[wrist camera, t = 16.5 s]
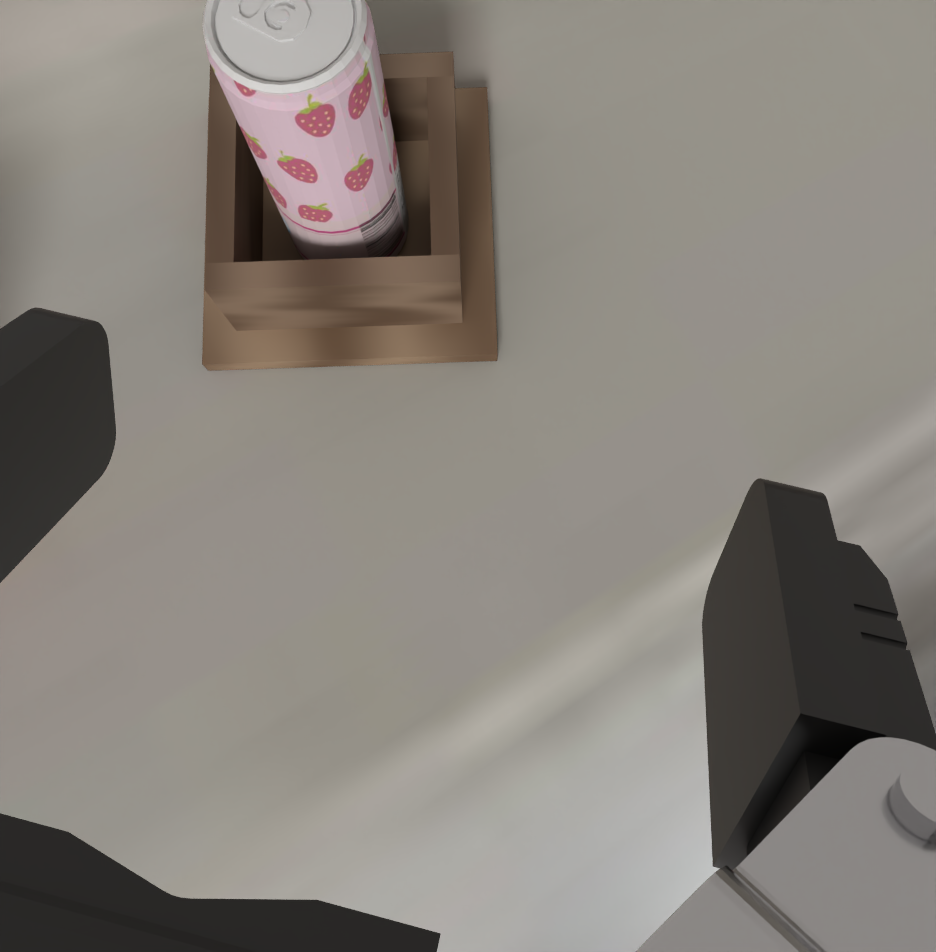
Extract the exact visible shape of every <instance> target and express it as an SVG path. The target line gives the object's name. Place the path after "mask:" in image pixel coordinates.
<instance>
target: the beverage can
mask: <svg viewBox="0 0 936 952" xmlns="http://www.w3.org/2000/svg"><path fill="white" fill-rule="evenodd" d="M203 33H204V38H205V43H206V48H207V54H208V59H209V61H210V64H211V66H212V68H213V70H214V73H215V75H216V77H217V79H218V81H219V83H220V85H221V88H222V90H223V92H224V94H225V96H226V98H227V100H228V103H229V105H230V107H231V109H232V111H233V113H234V115H235V118H236V120H237V122H238V124H239V126H240V128H241V131H242V133H243V135H244V137H245V139H246V141H247V143H248V146H249V148H250V150H251V152H252V154H253V156H254V158H255V161H256V163H257V165H258V167H259V169H260V171H261V173H262V176H263V178H264V180H265V182H266V184H267V186H268V188H269V191H270V193H271V195H272V197H273V199H274V201H275V203H276V206H277V208H278V210H279V212H280V214H281V216H282V218H283V221H284V223H285V225H286V227H287V229H288V231H289V233H290V236H291V238H292V240H293V242H294V244H295V246H296V248H297V251H298V252H299V254H300V255H301V256H302V258H303V259H304V260H314V259H343V258H371V257H396V256H397V254H398V253H399V252H400V251H401V249H402V246H403V244H404V242H405V240H406V237H407V232H408V211H407V206H406V200H405V195H404V189H403V184H402V178H401V173H400V167H399V162H398V156H397V151H396V145H395V140H394V134H393V129H392V123H391V117H390V112H389V106H388V101H387V95H386V90H385V84H384V79H383V73H382V68H381V62H380V57H379V51H378V46H377V40H376V35H375V29H374V24H373V20H372V15H371V11H370V8H369V6H368V4H367V2H366V0H207V2H206V5H205V9H204V12H203Z"/></svg>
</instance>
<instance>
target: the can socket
mask: <svg viewBox="0 0 936 952" xmlns="http://www.w3.org/2000/svg"><path fill="white" fill-rule="evenodd" d="M379 57H380V62H381V68H382V73H383V79H384V84H385V90H386V95H387V101H388V106H389V112H390V117H391V123H392V129H393V134H394V140H395V145H396V151H397V156H398V162H399V167H400V173H401V178H402V184H403V189H404V195H405V200H406V206H407V211H408V232H407V237H406V240H405V242H404V244H403V246H402V249H401V251H400V252H399V253H398V254H397V256H396V257H371V258H343V259H314V260H304V259H303V258H302V256H301V255H300V254H299V252H298V251H297V248H296V246H295V244H294V242H293V240H292V238H291V236H290V233H289V231H288V229H287V227H286V225H285V223H284V221H283V218H282V216H281V214H280V212H279V210H278V208H277V206H276V203H275V201H274V199H273V197H272V195H271V193H270V191H269V188H268V186H267V184H266V182H265V180H264V178H263V176H262V173H261V171H260V169H259V167H258V165H257V163H256V161H255V158H254V156H253V154H252V152H251V150H250V148H249V146H248V143H247V141H246V139H245V137H244V135H243V133H242V131H241V128H240V126H239V124H238V122H237V120H236V118H235V115H234V113H233V111H232V109H231V107H230V105H229V103H228V100H227V98H226V96H225V94H224V92H223V90H222V88H221V85H220V83H219V81H218V79H217V77H216V75H215V73H214V70H213V68H212V66H211V64H210V92H209V113H208V154H207V194H206V234H205V274H204V314H203V354H202V364H203V365H204V366H205V367H206V368H207V369H208V370H239V369H268V368H297V367H327V366H356V365H385V364H415V363H444V362H473V361H497V328H496V303H495V277H494V252H493V226H492V201H491V175H490V150H489V124H488V99H487V87H480V88H455V81H454V58H453V52H432V53H405V54H379Z"/></svg>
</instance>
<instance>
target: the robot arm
mask: <svg viewBox="0 0 936 952" xmlns="http://www.w3.org/2000/svg"><path fill="white" fill-rule="evenodd" d="M115 439H116V424H115V413H114V402H113V391H112V379H111V368H110V357H109V346H108V339H107V335H106V332H105V330H104V328H103V327H102V325H101V324H100V323H98V322H96V321H93V320H89V319H84V318H80V317H76V316H72V315H67V314H63V313H59V312H54V311H50V310H46V309H42V308H33V309H30V310H28V311H26V312H25V313H23V314H22V315H20V316H19V317H17V318H16V319H14V320H13V321H11V322H10V323H8V324H7V325H5V326H4V327H3V328H1V329H0V583H1V582H2V581H3V579H4V578H5V577H6V576H7V575H8V574H9V573H10V572H11V571H12V570H13V569H14V568H15V567H16V566H17V565H18V564H19V563H20V562H21V560H22V559H23V558H24V557H25V556H26V555H27V554H28V553H29V552H30V551H31V550H32V549H33V548H34V547H35V546H36V545H37V544H38V543H39V541H40V540H41V539H42V538H43V537H44V536H45V535H46V534H47V533H48V532H49V531H50V530H51V529H52V528H53V527H54V526H55V525H56V524H57V522H58V521H59V520H60V519H61V518H62V517H63V516H64V515H65V514H66V513H67V512H68V511H69V510H70V509H71V508H72V507H73V506H74V505H75V503H76V502H77V501H78V500H79V499H80V498H81V497H82V496H83V495H84V494H85V493H86V492H87V491H88V490H89V489H90V488H91V487H92V486H93V484H94V483H95V482H96V481H97V480H98V479H99V478H100V477H101V476H102V474H103V473H104V471H105V470H106V468H107V466H108V464H109V462H110V459H111V456H112V453H113V450H114V445H115ZM897 616H898V611H897V608H896V605H895V602H894V599H893V595H892V592H891V589H890V586H889V583H888V580H887V578H886V577H885V576H884V575H883V573H882V572H881V571H880V570H879V569H878V567H877V566H876V565H875V564H874V562H873V561H872V560H871V559H870V557H869V556H868V555H867V554H866V552H865V551H864V550H863V549H862V548H861V546H859V545H855V544H850V543H846V542H842V541H838V540H837V537H836V533H835V529H834V525H833V522H832V518H831V514H830V510H829V506H828V502H827V499H826V496H825V495H824V494H823V493H820V492H816V491H812V490H808V489H803V488H799V487H795V486H791V485H786V484H782V483H778V482H773V481H769V480H765V479H761V478H760V479H757V480H756V481H755V482H754V483H753V484H752V486H751V487H750V489H749V491H748V493H747V495H746V497H745V500H744V502H743V505H742V507H741V509H740V512H739V514H738V516H737V519H736V521H735V523H734V526H733V528H732V530H731V533H730V535H729V538H728V540H727V542H726V545H725V547H724V549H723V552H722V554H721V556H720V559H719V561H718V563H717V566H716V568H715V570H714V573H713V575H712V578H711V581H710V584H709V587H708V591H707V595H706V599H705V604H704V611H703V621H702V633H703V655H704V677H705V700H706V722H707V744H708V766H709V789H710V811H711V833H712V856H713V867H717V868H720V869H719V870H718V871H716V872H715V873H714V874H713V875H712V876H711V877H710V878H708V879H707V880H706V881H705V882H704V883H703V884H702V885H701V886H700V887H699V888H698V889H697V890H696V891H695V892H694V893H693V894H692V895H691V896H690V897H689V898H688V899H687V900H686V901H685V902H684V903H683V904H682V905H681V906H680V907H679V908H678V909H677V910H676V911H675V912H674V913H673V914H672V915H671V916H670V917H669V918H668V919H667V920H666V921H665V922H664V924H663V925H662V926H661V927H660V928H659V929H658V930H657V931H656V932H655V933H654V934H653V935H652V936H651V937H650V938H649V939H648V940H647V941H646V942H645V943H644V944H643V945H642V946H641V947H640V948H639V949H638V950H637V951H636V952H936V733H935V730H934V727H933V724H932V721H931V717H930V714H929V711H928V708H927V705H926V701H925V698H924V695H923V692H922V688H921V685H920V682H919V679H918V676H917V672H916V669H915V666H914V663H913V660H912V656H911V653H910V650H906V645H907V640H906V637H905V634H904V631H903V627H902V624H901V621H898V620H897ZM439 938H440V933H436V932H432V931H429V930H425V929H422V928H418V927H414V926H411V925H407V924H403V923H400V922H396V921H392V920H389V919H385V918H381V917H378V916H374V915H370V914H367V913H363V912H359V911H356V910H352V909H348V908H345V907H341V906H337V905H334V904H330V903H326V902H323V901H319V900H268V899H188V898H180V897H176V896H173V895H170V894H168V893H166V892H164V891H163V890H161V889H159V888H158V887H156V886H155V885H153V884H151V883H150V882H148V881H147V880H145V879H143V878H142V877H140V876H138V875H137V874H135V873H134V872H132V871H130V870H129V869H127V868H126V867H124V866H122V865H121V864H119V863H117V862H116V861H114V860H113V859H111V858H109V857H108V856H106V855H105V854H103V853H101V852H100V851H98V850H97V849H95V848H93V847H92V846H90V845H88V844H87V843H85V842H84V841H82V840H80V839H79V838H77V837H76V836H74V835H72V834H71V833H69V832H66V831H63V830H59V829H55V828H52V827H48V826H44V825H41V824H37V823H33V822H30V821H26V820H22V819H19V818H15V817H11V816H8V815H4V814H0V952H437V948H438V943H439Z"/></svg>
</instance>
